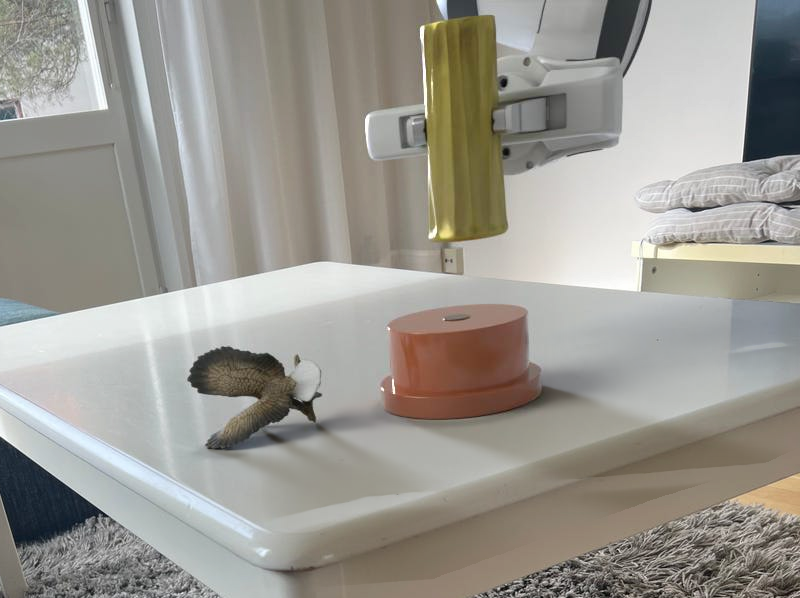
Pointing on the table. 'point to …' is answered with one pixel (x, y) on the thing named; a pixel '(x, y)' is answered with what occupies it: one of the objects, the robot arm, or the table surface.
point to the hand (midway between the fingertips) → (458, 126)
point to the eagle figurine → (255, 389)
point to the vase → (463, 130)
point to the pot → (460, 362)
